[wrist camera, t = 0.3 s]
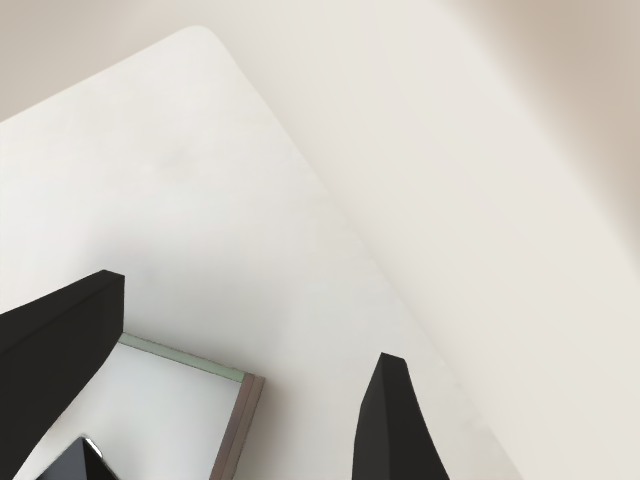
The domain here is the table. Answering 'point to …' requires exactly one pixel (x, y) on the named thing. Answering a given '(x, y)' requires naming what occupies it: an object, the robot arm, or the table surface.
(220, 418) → the table surface
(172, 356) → the stall
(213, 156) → the table surface
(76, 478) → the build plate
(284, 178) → the table surface
